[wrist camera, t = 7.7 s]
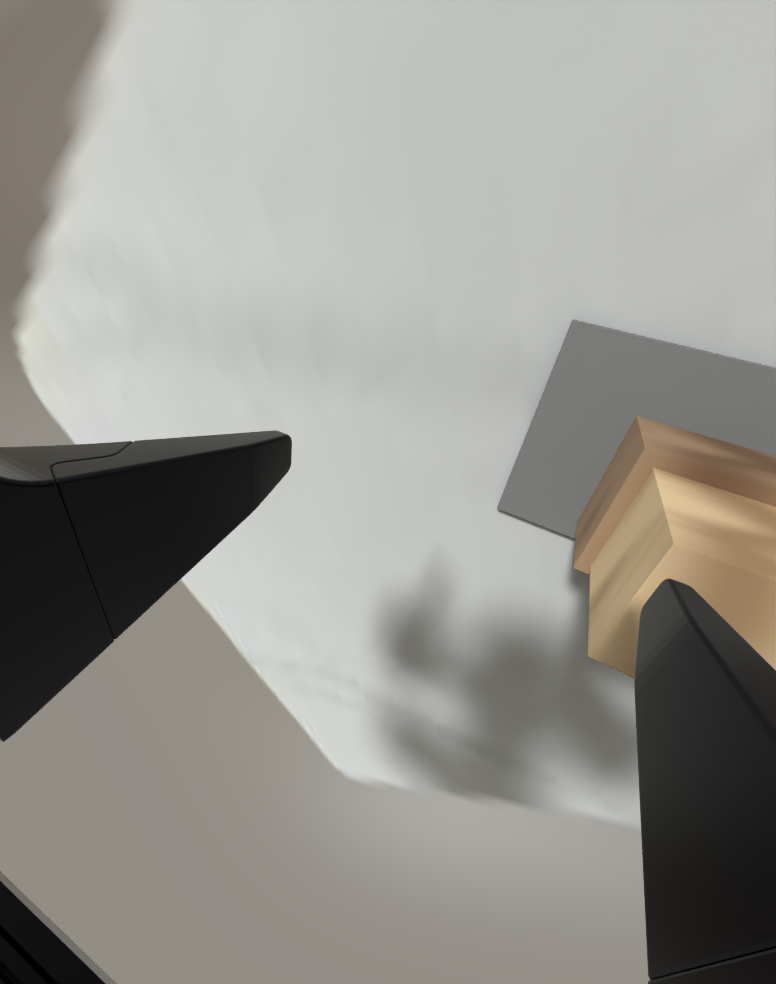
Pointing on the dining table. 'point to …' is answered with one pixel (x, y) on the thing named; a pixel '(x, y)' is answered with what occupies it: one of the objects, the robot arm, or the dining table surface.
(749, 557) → the oak cube
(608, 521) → the walnut block
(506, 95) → the dining table surface
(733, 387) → the slate mat
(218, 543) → the robot arm
